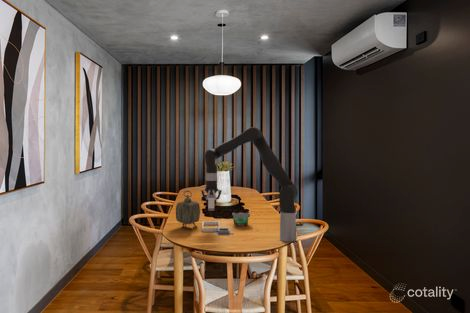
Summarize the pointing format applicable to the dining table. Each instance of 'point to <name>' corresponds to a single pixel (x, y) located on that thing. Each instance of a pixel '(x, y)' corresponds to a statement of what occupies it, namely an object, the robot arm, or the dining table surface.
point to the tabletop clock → (187, 211)
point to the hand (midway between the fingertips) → (211, 205)
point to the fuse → (211, 202)
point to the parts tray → (210, 228)
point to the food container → (240, 219)
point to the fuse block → (223, 231)
